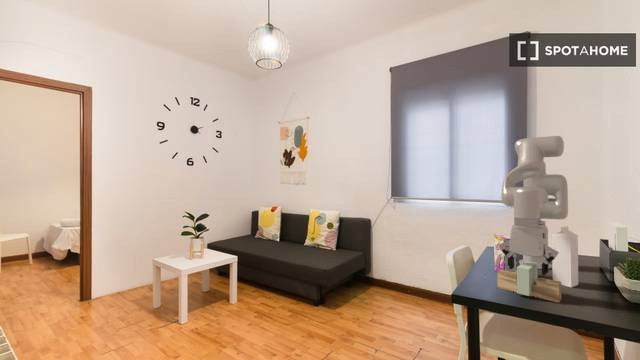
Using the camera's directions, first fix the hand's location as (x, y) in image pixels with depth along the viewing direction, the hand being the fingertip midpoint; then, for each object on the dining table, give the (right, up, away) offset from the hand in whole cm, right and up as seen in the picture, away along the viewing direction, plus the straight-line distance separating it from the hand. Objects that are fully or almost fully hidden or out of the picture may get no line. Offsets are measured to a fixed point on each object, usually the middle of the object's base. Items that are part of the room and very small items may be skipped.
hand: (527, 271), depth 103 cm
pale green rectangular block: (0, -7, 0) cm, 7 cm away
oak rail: (0, -8, 0) cm, 8 cm away
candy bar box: (+5, -8, +20) cm, 22 cm away
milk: (+21, -8, +9) cm, 24 cm away
